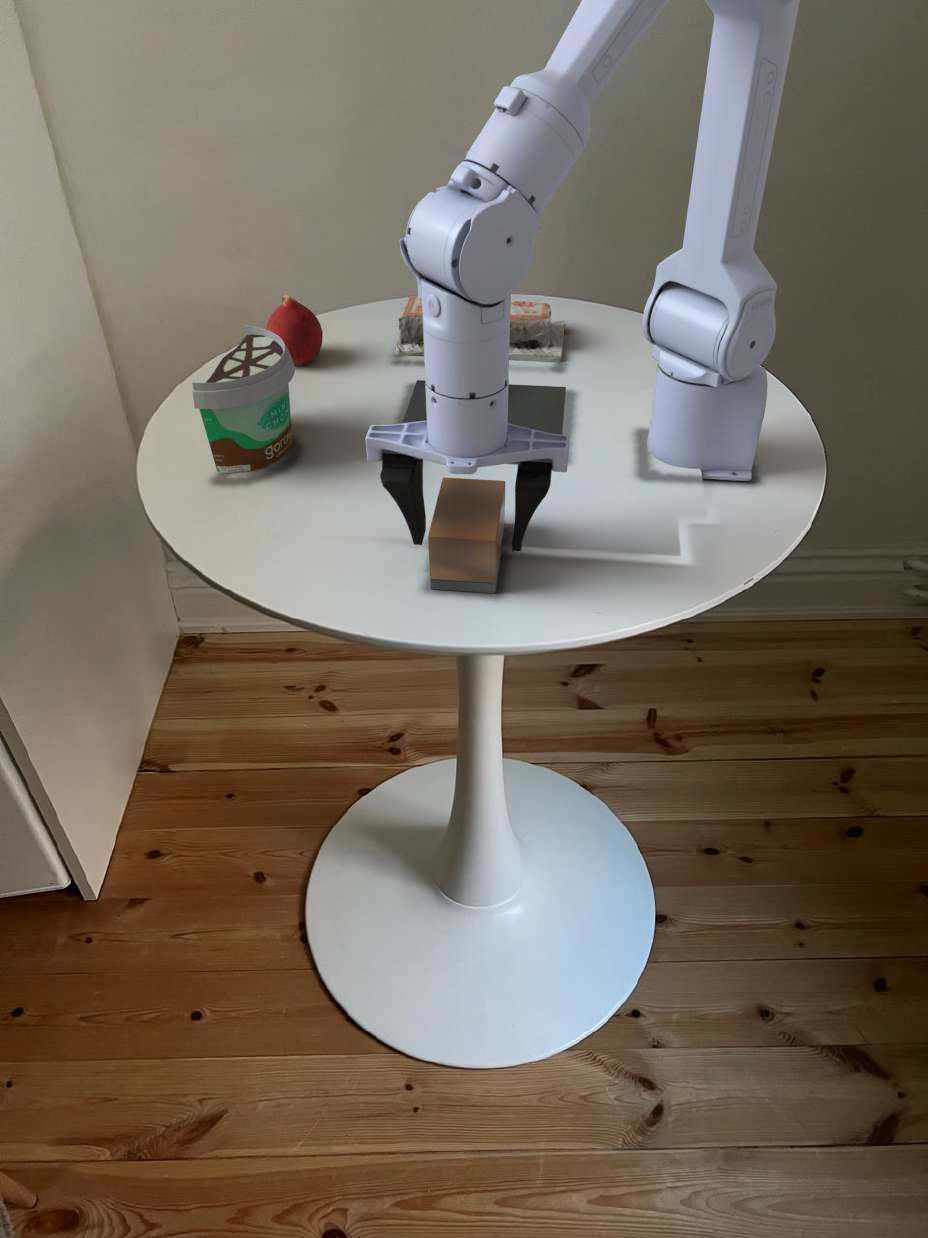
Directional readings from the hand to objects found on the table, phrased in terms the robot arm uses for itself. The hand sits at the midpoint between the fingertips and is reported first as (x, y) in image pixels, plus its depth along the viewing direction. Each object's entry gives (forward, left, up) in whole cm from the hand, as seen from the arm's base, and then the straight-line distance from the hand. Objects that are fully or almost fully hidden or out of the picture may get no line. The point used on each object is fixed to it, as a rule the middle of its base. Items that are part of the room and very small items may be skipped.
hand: (468, 540), depth 72 cm
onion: (+22, -32, -2) cm, 38 cm away
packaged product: (+3, -39, -2) cm, 39 cm away
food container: (+20, -14, -2) cm, 24 cm away
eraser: (0, 0, -2) cm, 2 cm away
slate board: (+1, -22, -2) cm, 22 cm away
